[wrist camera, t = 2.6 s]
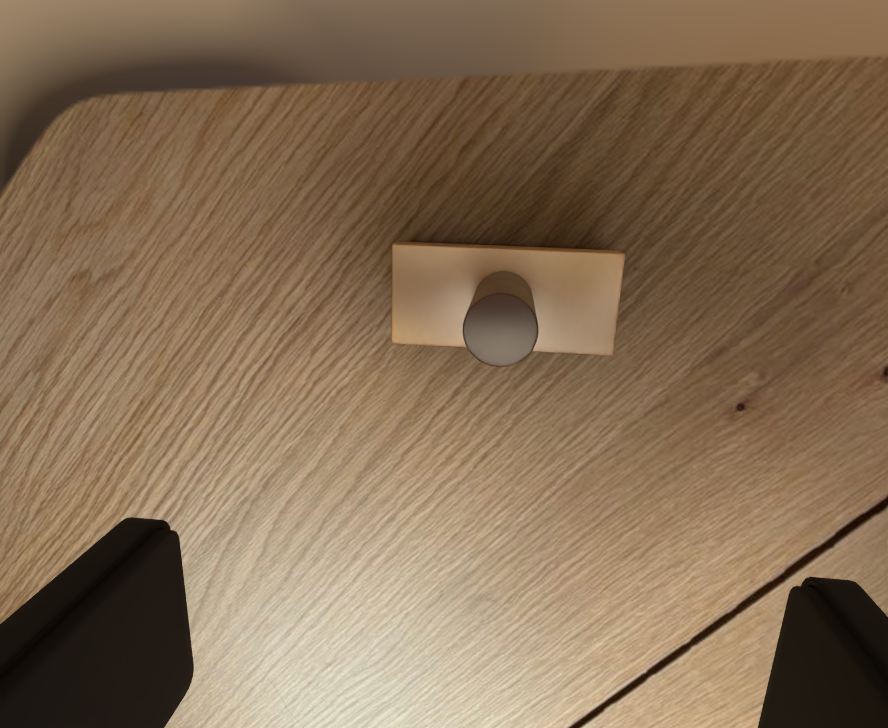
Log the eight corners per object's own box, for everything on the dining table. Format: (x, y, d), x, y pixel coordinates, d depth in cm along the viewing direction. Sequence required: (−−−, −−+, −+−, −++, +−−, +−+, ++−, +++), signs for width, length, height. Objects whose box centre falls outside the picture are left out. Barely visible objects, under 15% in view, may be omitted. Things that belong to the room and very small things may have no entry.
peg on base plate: (403, 238, 29) (356, 258, 20) (614, 247, 28) (659, 271, 19) (403, 328, 30) (358, 383, 21) (603, 340, 29) (641, 402, 20)
